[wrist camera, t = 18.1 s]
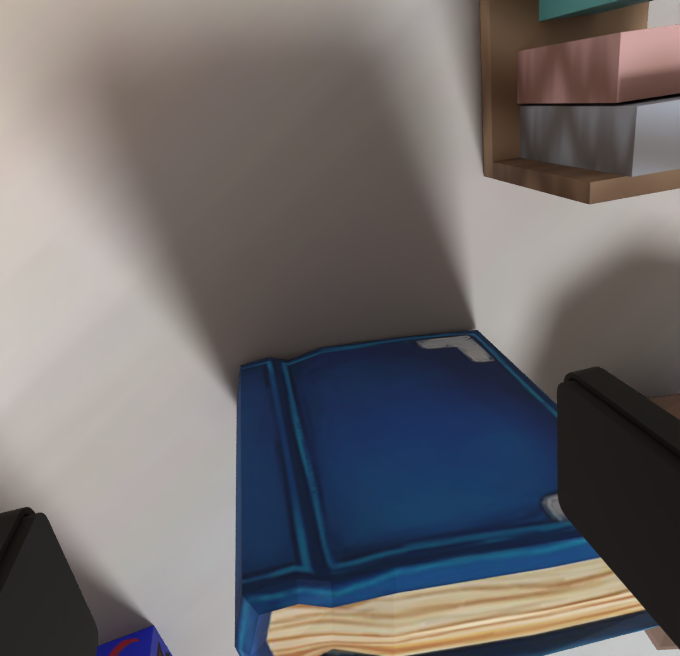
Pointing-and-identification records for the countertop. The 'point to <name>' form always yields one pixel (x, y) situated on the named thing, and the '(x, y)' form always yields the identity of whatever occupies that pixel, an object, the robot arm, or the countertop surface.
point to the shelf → (580, 101)
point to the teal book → (580, 7)
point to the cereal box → (136, 645)
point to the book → (409, 509)
